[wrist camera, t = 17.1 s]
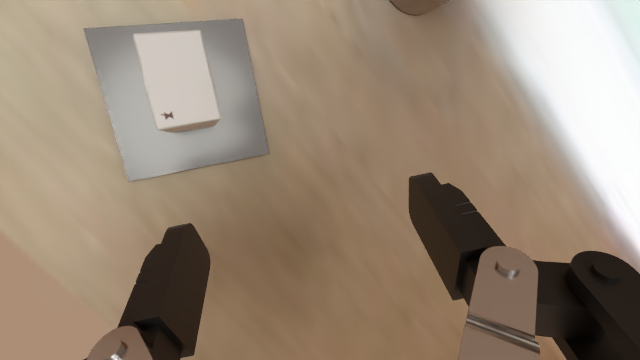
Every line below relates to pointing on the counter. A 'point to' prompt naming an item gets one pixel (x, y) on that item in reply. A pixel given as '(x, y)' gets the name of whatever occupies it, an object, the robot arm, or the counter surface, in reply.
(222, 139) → the slate tile
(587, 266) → the robot arm
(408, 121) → the counter surface
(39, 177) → the counter surface
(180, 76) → the skincare box
